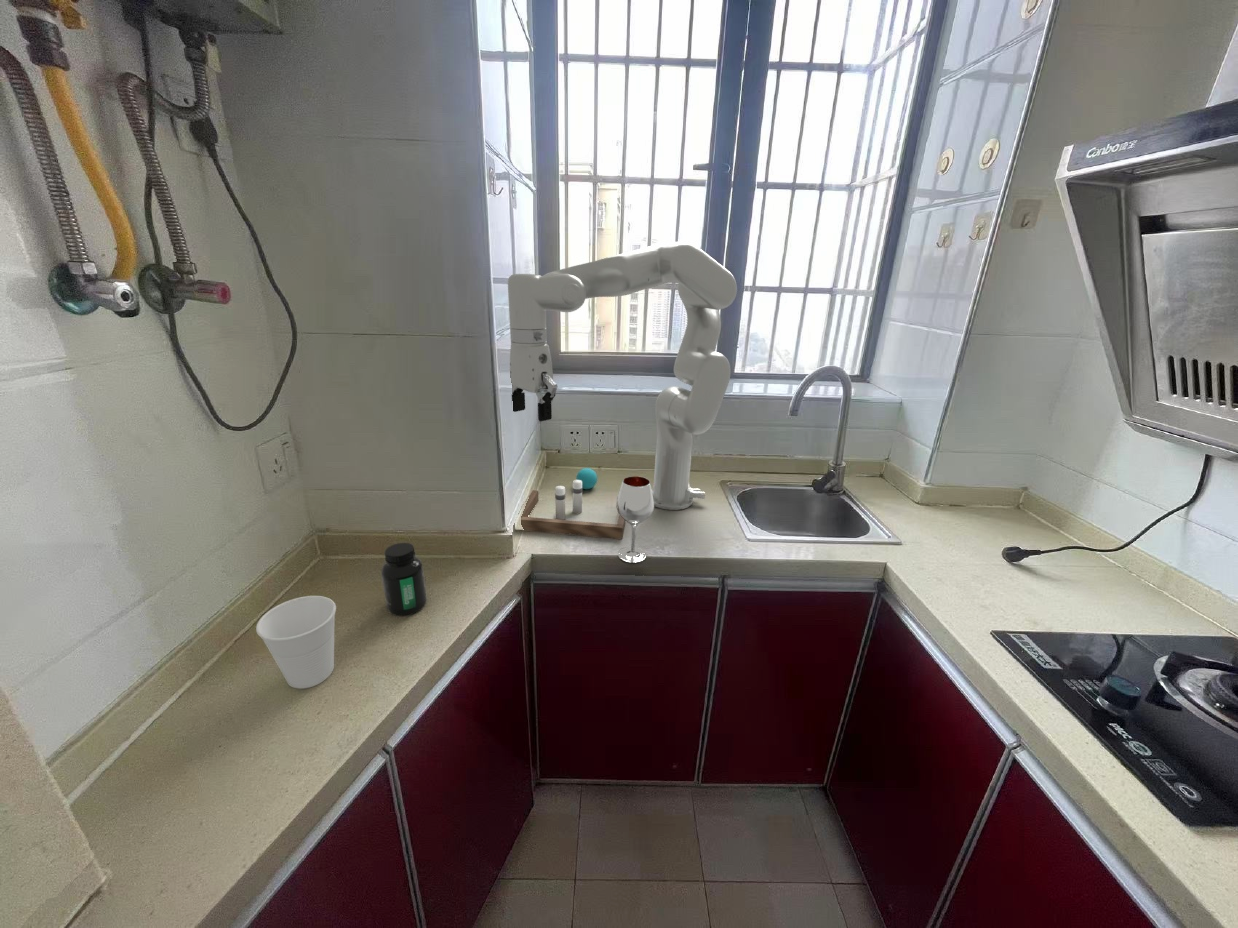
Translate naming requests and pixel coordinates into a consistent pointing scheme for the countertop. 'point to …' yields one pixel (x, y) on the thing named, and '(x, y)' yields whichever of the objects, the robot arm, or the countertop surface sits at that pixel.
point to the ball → (587, 478)
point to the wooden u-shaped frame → (568, 524)
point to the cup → (301, 639)
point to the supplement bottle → (403, 580)
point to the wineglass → (634, 511)
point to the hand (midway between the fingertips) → (531, 415)
